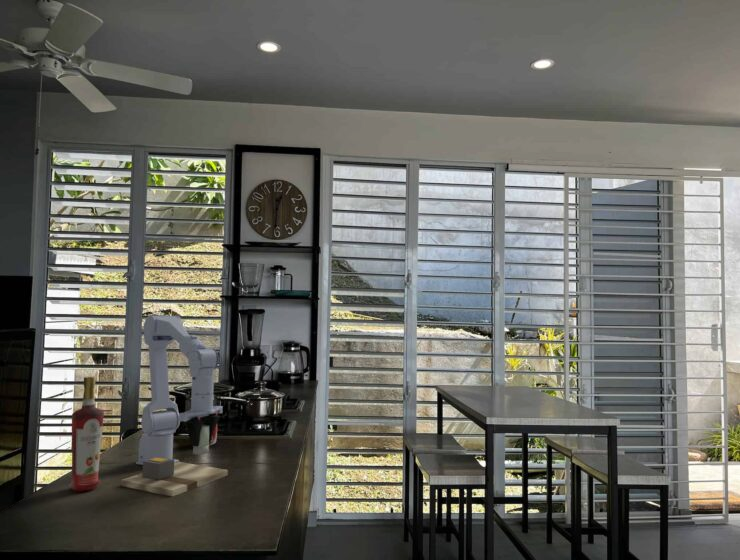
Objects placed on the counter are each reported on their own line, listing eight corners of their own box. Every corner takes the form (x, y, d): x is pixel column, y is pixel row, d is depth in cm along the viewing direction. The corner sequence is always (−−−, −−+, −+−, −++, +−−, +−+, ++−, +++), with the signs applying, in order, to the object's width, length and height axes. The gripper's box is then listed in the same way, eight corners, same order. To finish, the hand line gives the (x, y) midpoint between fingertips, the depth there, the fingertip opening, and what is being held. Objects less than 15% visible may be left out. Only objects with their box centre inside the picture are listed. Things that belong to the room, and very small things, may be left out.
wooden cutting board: (121, 485, 139) (121, 479, 140) (179, 467, 157) (179, 461, 158) (172, 496, 132) (172, 490, 132) (227, 475, 150) (227, 469, 150)
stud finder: (142, 476, 142) (143, 460, 142) (157, 471, 146) (158, 455, 147) (158, 479, 139) (159, 463, 140) (173, 474, 144) (174, 458, 144)
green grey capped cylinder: (189, 453, 145) (190, 426, 145) (200, 450, 149) (201, 424, 149) (201, 455, 143) (202, 428, 144) (211, 451, 147) (212, 425, 147)
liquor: (95, 482, 142) (99, 375, 144) (104, 489, 137) (109, 377, 139) (64, 488, 137) (69, 377, 139) (73, 495, 132) (78, 379, 134)
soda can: (220, 443, 188) (221, 408, 189) (208, 447, 181) (209, 411, 182) (203, 441, 190) (204, 407, 191) (190, 445, 183) (192, 410, 184)
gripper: (194, 397, 139) (192, 451, 138) (231, 391, 152) (230, 440, 151) (174, 395, 142) (172, 448, 141) (212, 389, 155) (210, 437, 154)
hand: (200, 444), depth 146 cm, fingers closed on green grey capped cylinder, 4 cm apart
